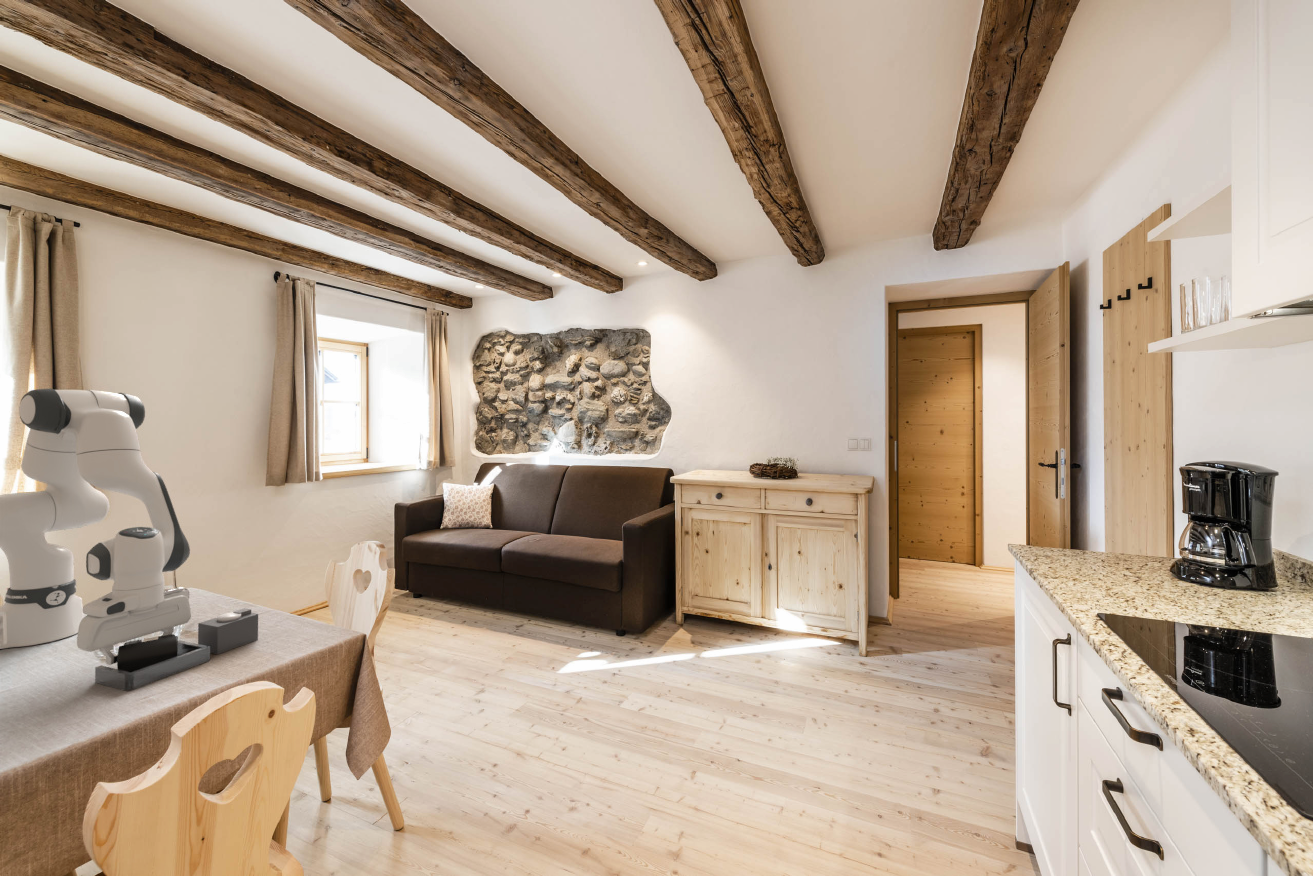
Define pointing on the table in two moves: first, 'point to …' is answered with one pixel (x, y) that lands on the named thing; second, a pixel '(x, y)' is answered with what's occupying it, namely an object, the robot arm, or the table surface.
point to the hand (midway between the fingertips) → (138, 655)
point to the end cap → (146, 652)
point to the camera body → (228, 631)
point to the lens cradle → (154, 668)
